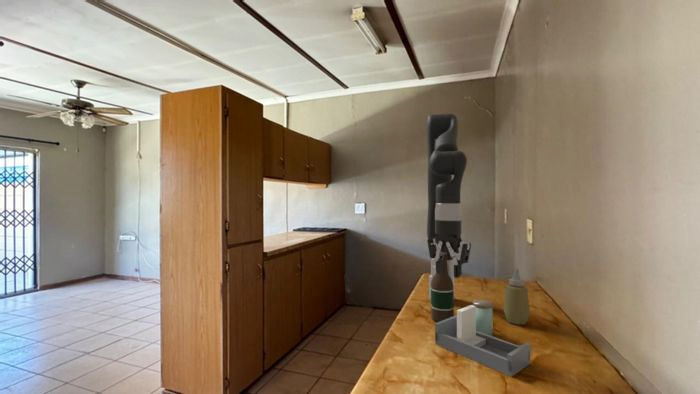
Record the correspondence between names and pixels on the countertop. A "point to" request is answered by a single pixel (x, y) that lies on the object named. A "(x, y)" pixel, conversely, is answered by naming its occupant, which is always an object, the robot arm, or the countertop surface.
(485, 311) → the jar
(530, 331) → the countertop surface
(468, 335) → the pusher
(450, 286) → the beer bottle
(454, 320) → the gray rectangular tray
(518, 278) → the squeeze bottle
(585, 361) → the countertop surface
